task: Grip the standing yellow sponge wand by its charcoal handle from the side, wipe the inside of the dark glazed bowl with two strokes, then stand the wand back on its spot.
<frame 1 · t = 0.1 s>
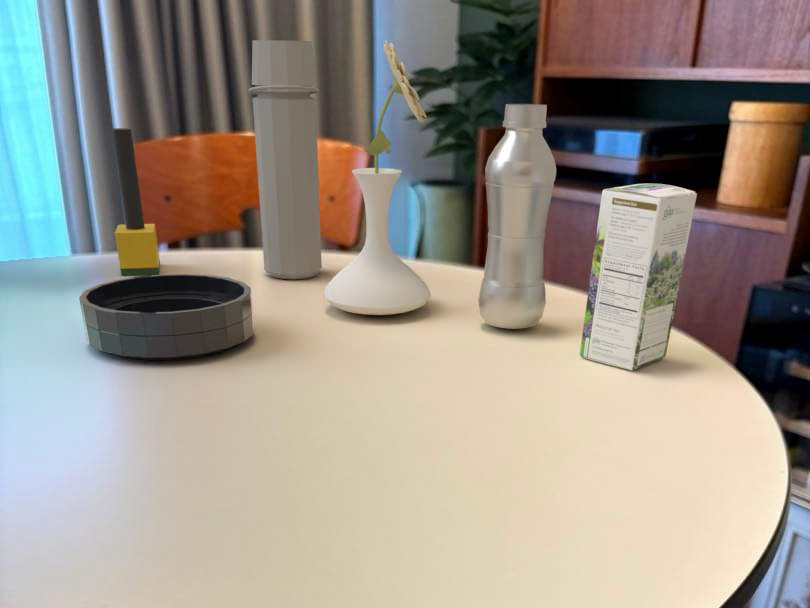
syrup box: (623, 360, 75), on the table
plastic bottle: (509, 329, 84), on the table
flower in vase: (380, 309, 90), on the table
water bottle: (292, 274, 104), on the table
bowl: (173, 340, 79), on the table
sponge wand: (141, 269, 104), on the table
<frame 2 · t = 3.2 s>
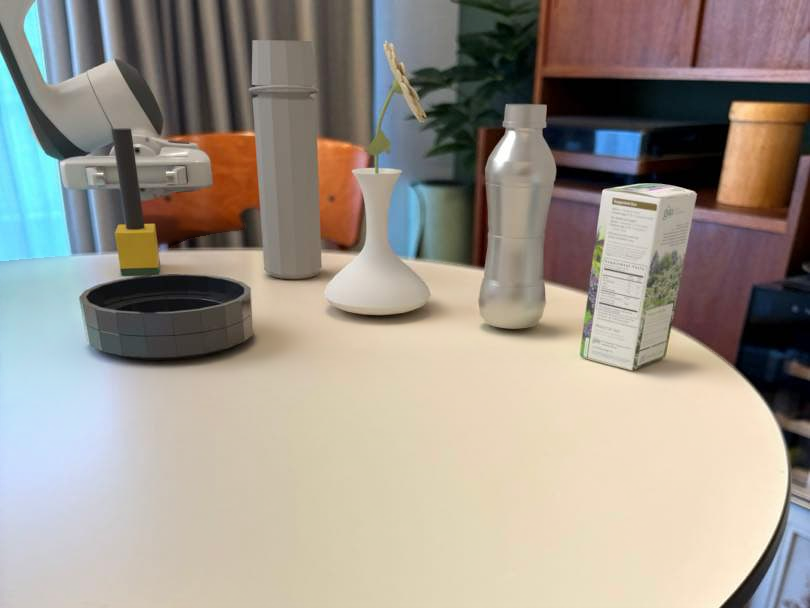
hand: (135, 179, 110), 9 cm above the table, tool horizontal, fingers open, 8 cm apart
nothing on the table moved.
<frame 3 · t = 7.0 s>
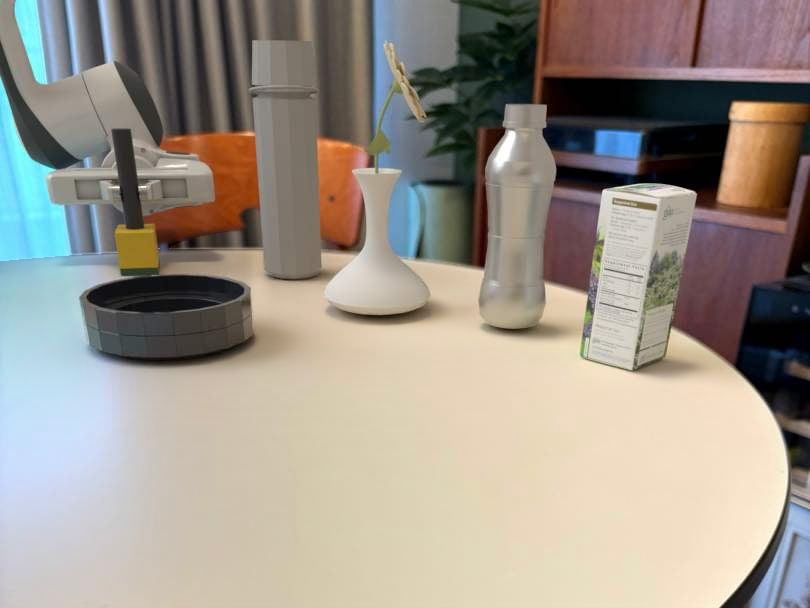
hand: (130, 194, 99), 9 cm above the table, tool horizontal, fingers closed on sponge wand, 2 cm apart
sponge wand: (141, 269, 104), on the table, touching gripper
everything else where it was.
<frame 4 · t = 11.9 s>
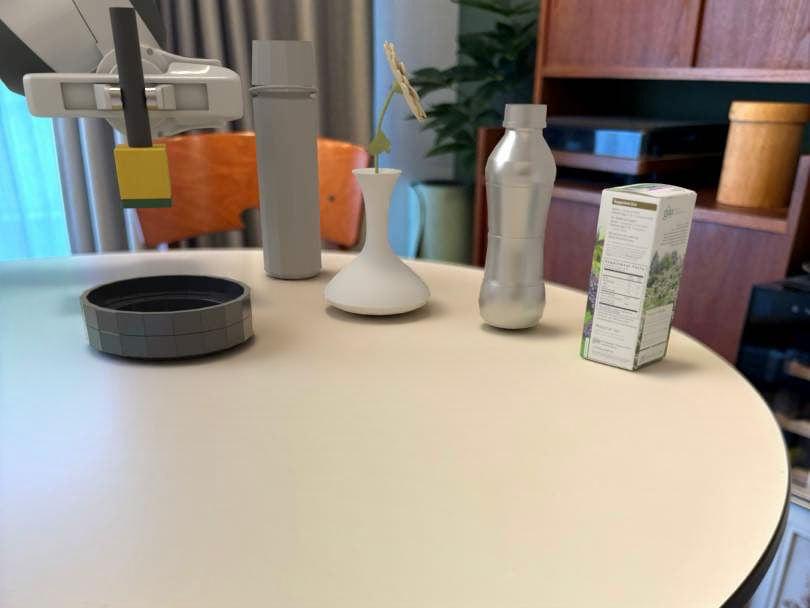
hand: (134, 98, 75), 20 cm above the table, tool horizontal, fingers closed on sponge wand, 2 cm apart
sponge wand: (148, 203, 80), point 11 cm above the table, touching gripper
everything else where it was.
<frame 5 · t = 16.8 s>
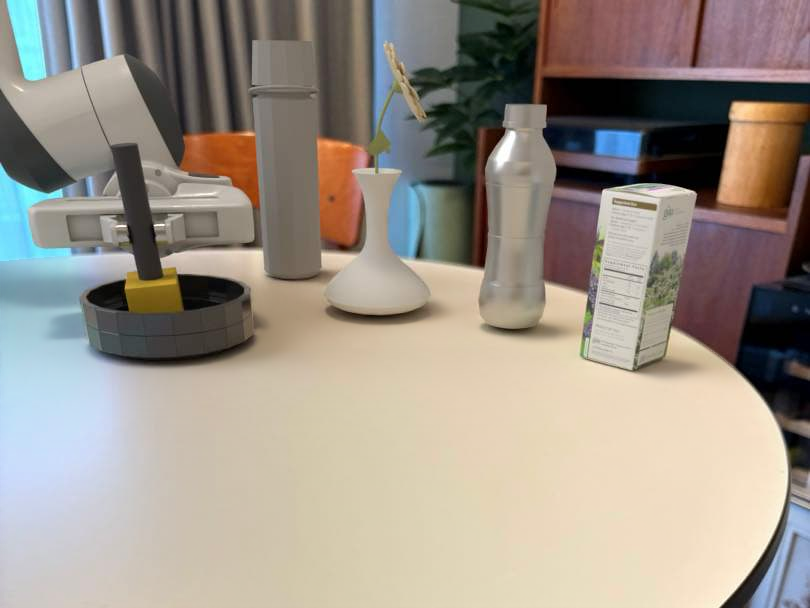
hand: (142, 235, 72), 10 cm above the table, tool horizontal, fingers closed on sponge wand, 2 cm apart
bowl: (173, 340, 79), on the table, touching sponge wand
sponge wand: (162, 331, 78), point 1 cm above the table, touching bowl, gripper
everything else where it was.
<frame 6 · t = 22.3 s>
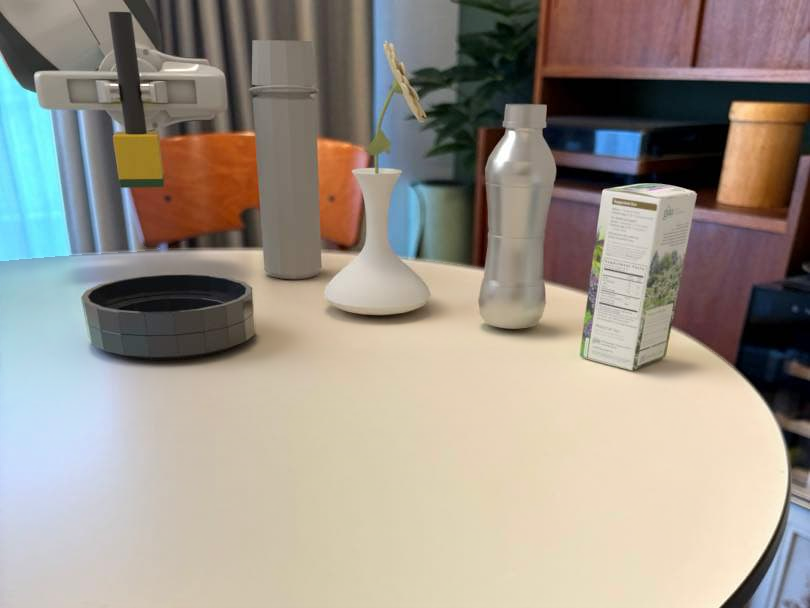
hand: (130, 93, 86), 20 cm above the table, tool horizontal, fingers closed on sponge wand, 2 cm apart
bowl: (174, 339, 79), on the table
sponge wand: (143, 183, 91), point 11 cm above the table, touching gripper
everything else where it was.
when the fingers open (9 cm above the table, at t = 26.8 s): sponge wand stays where it is, on the table.
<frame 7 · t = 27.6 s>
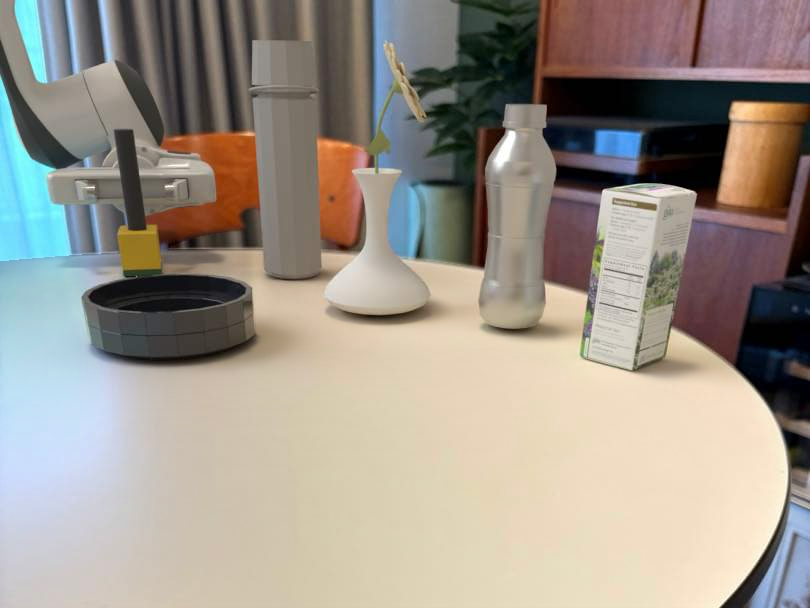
hand: (131, 193, 98), 9 cm above the table, tool horizontal, fingers open, 8 cm apart
sponge wand: (143, 271, 104), on the table
everything else where it was.
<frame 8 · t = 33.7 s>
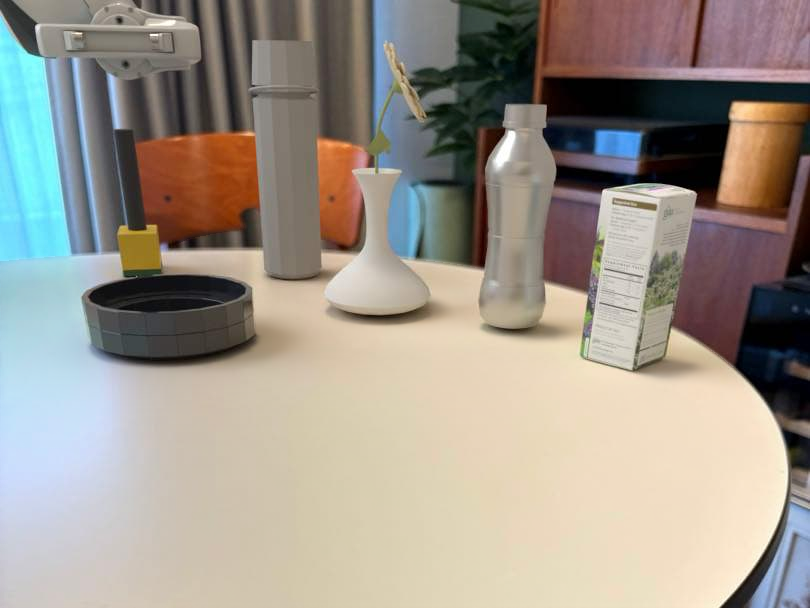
hand: (117, 41, 101), 25 cm above the table, tool horizontal, fingers open, 8 cm apart
nothing on the table moved.
at the end: sponge wand inside the target area (0.1 cm from its centre), on the table; sponge wand tilted 0°; bowl moved 0.2 cm from its start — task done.
